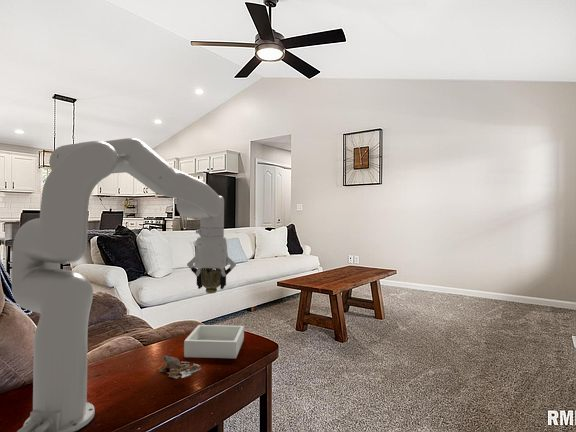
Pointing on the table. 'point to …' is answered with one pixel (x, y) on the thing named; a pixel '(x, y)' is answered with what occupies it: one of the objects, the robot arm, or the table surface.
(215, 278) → the embossed bronze vase
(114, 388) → the table surface
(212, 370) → the table surface
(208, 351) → the bin
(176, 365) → the frog figurine
